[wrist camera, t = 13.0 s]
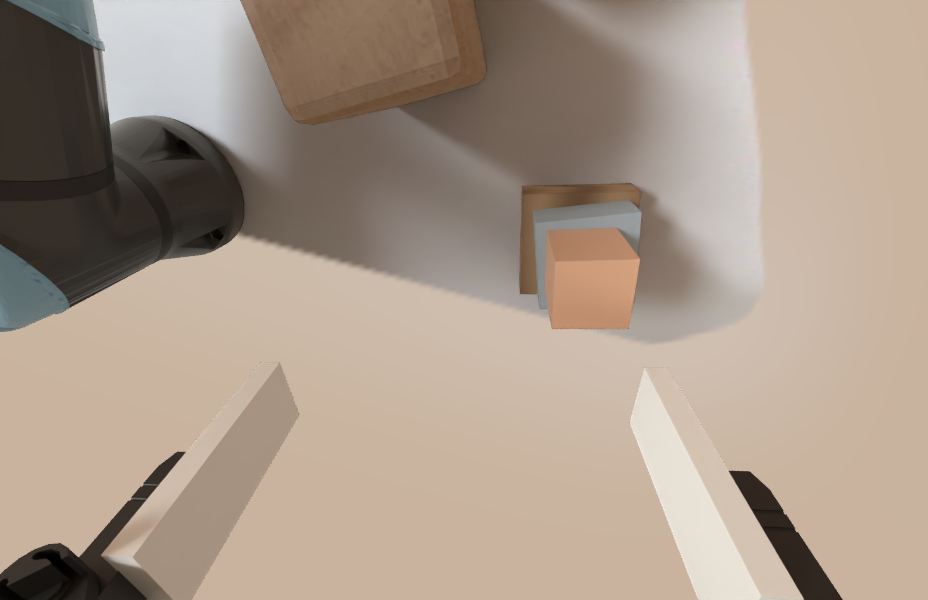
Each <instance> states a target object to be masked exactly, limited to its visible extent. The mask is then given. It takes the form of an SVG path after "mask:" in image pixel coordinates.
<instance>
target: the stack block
mask: <svg viewBox="0 0 928 600" xmlns="http://www.w3.org/2000/svg"><path fill="white" fill-rule="evenodd" d="M639 265H640V258H639V257H638V255H637V254H636V253H635V251H634V250H633V249H632V248H631V246H630V245H629V244H628V242H627V241H626V240H625V238H624V237H623V236H622V234H621V233H620V232H619V230H618V229H617V228H590V229H563V230H547V242H546V270H545V293H546V298H547V304H548V309H549V315H550V321H551V326H552V329H629V324H630V318H631V312H632V306H633V300H634V295H635V289H636V283H637V277H638V271H639Z"/></svg>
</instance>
